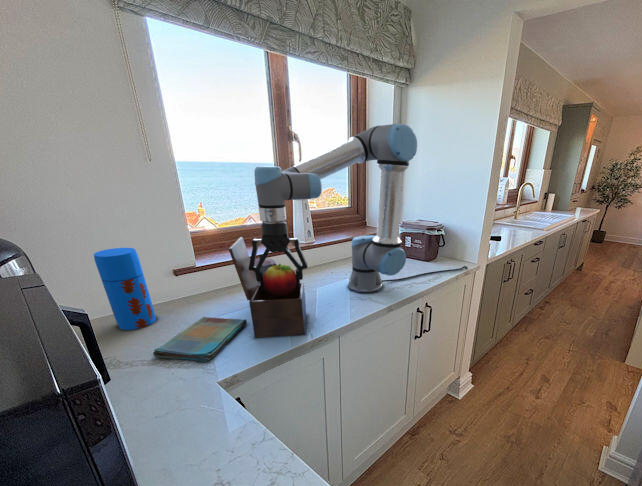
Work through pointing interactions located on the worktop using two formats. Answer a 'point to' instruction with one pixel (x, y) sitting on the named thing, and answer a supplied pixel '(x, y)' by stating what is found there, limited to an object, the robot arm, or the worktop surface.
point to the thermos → (125, 287)
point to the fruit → (280, 280)
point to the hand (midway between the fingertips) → (281, 289)
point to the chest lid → (243, 267)
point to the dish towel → (201, 339)
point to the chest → (278, 313)
